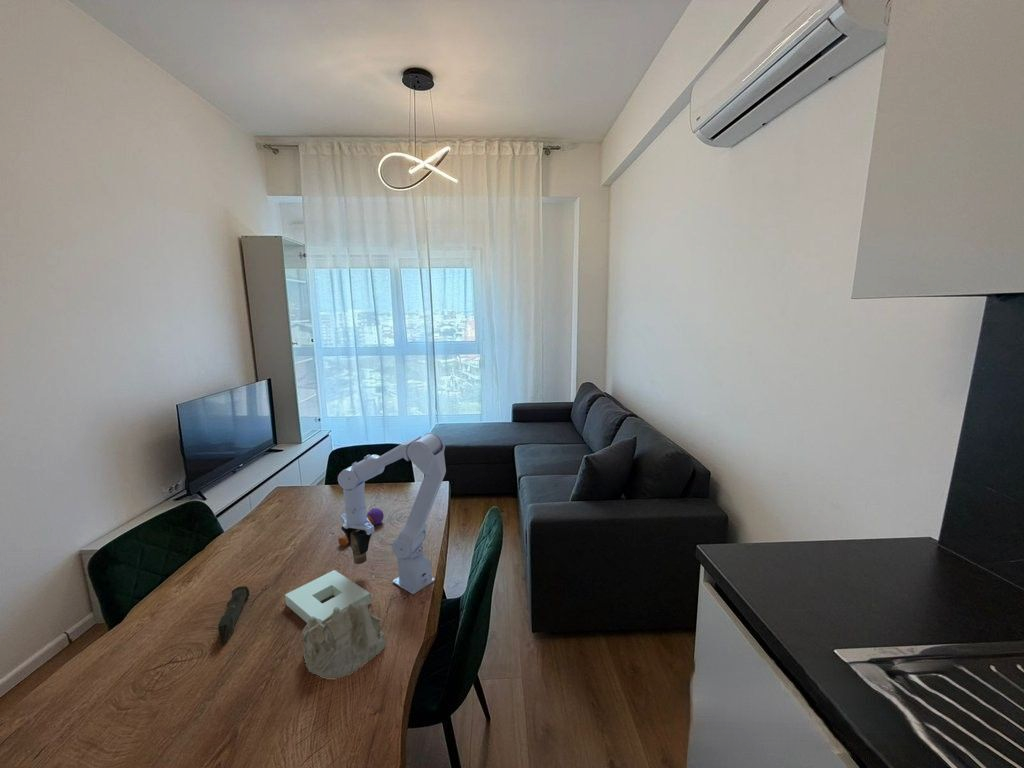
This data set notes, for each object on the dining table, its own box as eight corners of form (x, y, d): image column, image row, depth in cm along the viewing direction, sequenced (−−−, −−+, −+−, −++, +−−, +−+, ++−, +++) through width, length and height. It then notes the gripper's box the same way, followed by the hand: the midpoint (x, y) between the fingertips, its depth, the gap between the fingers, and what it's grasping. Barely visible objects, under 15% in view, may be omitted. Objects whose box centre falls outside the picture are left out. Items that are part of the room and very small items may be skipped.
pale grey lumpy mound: (394, 647, 98) (385, 587, 96) (322, 695, 87) (310, 628, 85) (363, 619, 109) (354, 564, 107) (296, 658, 98) (285, 598, 96)
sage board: (370, 603, 114) (369, 593, 113) (319, 634, 103) (318, 623, 102) (335, 579, 125) (334, 569, 124) (286, 604, 114) (284, 594, 113)
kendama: (333, 534, 144) (372, 505, 162) (338, 550, 145) (376, 519, 163) (346, 534, 141) (384, 505, 159) (351, 550, 142) (388, 519, 160)
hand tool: (233, 600, 117) (231, 585, 116) (250, 597, 118) (248, 581, 117) (208, 650, 99) (205, 633, 98) (228, 646, 100) (225, 628, 99)
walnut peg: (370, 559, 126) (368, 531, 125) (357, 566, 123) (355, 537, 122) (362, 555, 129) (360, 527, 128) (349, 561, 126) (347, 533, 124)
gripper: (329, 505, 125) (333, 547, 127) (356, 518, 116) (361, 564, 118) (351, 496, 130) (355, 538, 132) (379, 508, 121) (382, 552, 123)
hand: (359, 549), depth 126 cm, fingers closed on walnut peg, 4 cm apart
